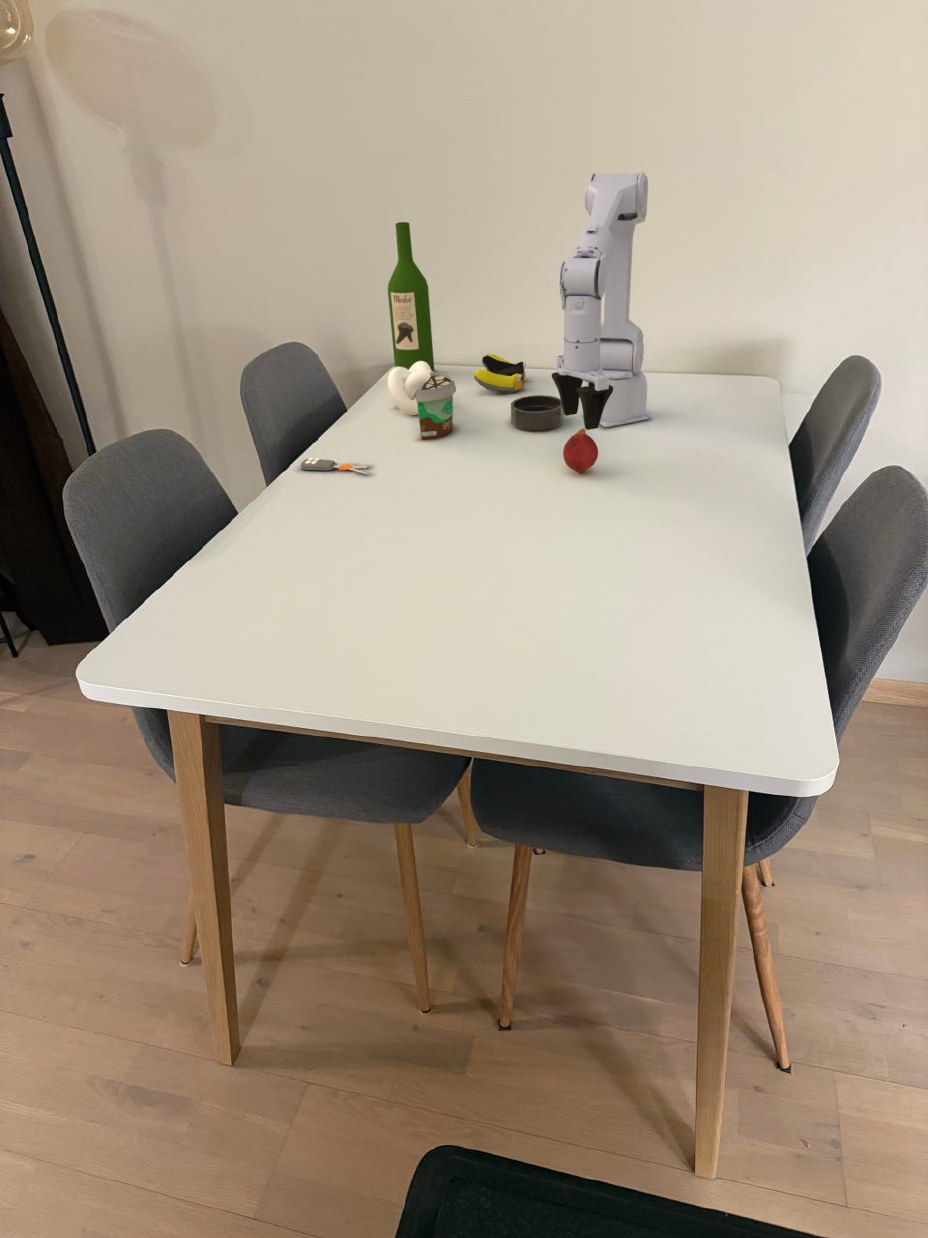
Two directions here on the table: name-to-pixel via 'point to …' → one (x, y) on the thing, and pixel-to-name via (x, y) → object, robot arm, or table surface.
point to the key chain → (327, 465)
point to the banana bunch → (500, 374)
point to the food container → (436, 406)
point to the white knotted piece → (408, 385)
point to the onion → (580, 452)
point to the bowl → (537, 412)
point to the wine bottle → (409, 307)
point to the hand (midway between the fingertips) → (581, 421)
